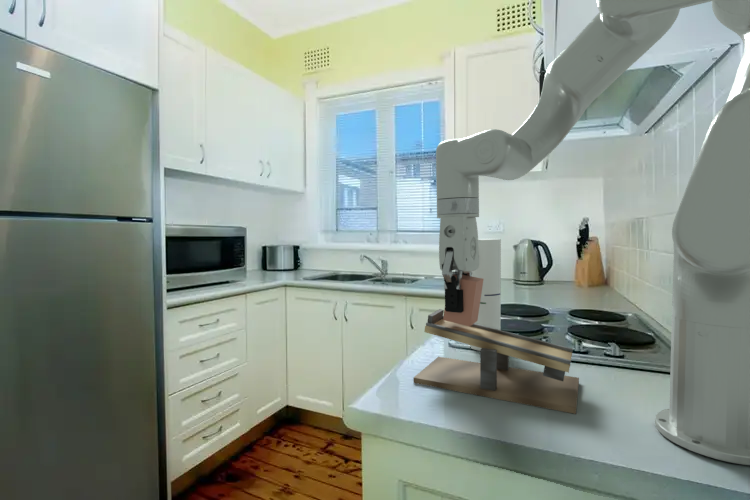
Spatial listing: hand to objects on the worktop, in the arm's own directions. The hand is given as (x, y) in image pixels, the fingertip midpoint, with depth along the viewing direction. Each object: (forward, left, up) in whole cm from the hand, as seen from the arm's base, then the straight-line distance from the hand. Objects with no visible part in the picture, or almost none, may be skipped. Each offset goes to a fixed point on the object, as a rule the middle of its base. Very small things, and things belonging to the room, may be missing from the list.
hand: (459, 307), depth 73 cm
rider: (0, 0, -2) cm, 2 cm away
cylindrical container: (0, -21, -13) cm, 25 cm away
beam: (-6, 0, -8) cm, 10 cm away
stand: (-7, 0, -13) cm, 15 cm away
